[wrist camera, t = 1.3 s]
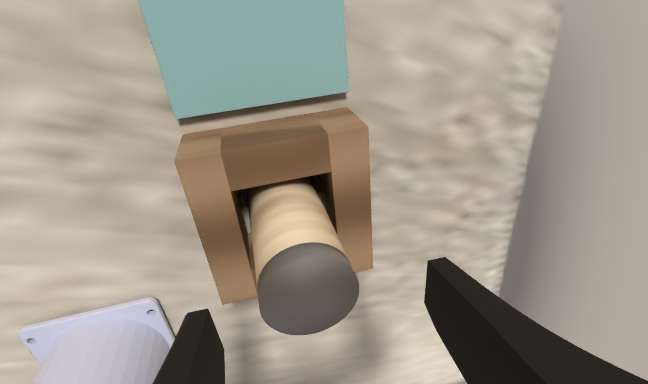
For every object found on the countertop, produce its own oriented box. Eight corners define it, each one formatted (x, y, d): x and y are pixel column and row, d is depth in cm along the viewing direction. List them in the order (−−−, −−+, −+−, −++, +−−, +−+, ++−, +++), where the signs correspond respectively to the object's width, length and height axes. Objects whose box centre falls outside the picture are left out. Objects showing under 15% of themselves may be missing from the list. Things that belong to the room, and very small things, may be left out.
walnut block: (355, 235, 25) (373, 268, 22) (223, 265, 23) (222, 304, 20) (347, 107, 20) (368, 126, 17) (182, 134, 19) (174, 161, 16)
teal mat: (346, 89, 20) (348, 91, 19) (176, 116, 18) (175, 119, 18) (336, -67, 16) (339, -68, 16) (125, -48, 15) (123, -50, 14)
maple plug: (316, 212, 23) (361, 320, 15) (254, 225, 22) (268, 345, 15) (309, 155, 21) (356, 247, 13) (240, 168, 20) (249, 272, 13)
